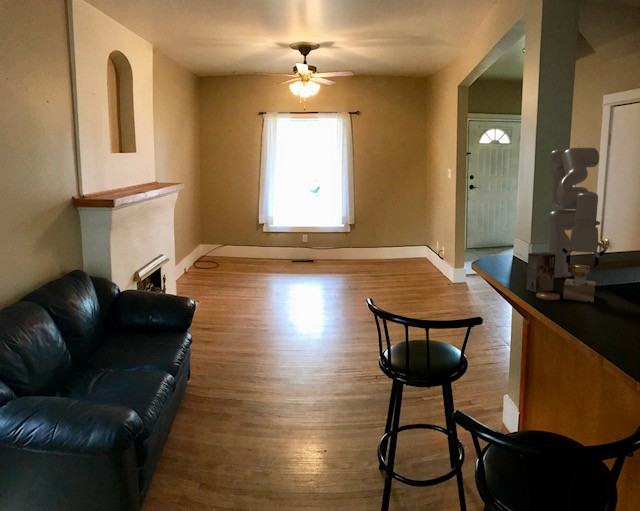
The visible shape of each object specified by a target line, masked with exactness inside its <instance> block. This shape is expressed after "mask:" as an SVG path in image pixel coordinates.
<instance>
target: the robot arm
mask: <svg viewBox="0 0 640 511" xmlns="http://www.w3.org/2000/svg"><path fill="white" fill-rule="evenodd" d="M599 162H600V153H599V151H598V149H596V148H595V147H571V148H559V149H554V150H552V151H551V152H550V153H549V157H548V166H549V169H550V172H551V175H552V176H551V177H552V187H551V188H552V189H551V190H552V191H551V203H552V205H553V207H557V208H561V209H555V210H552V211H550V212H549V214H548V215H547V227H548V239H547V240H548V241H547V251H546V252H547V253H551V254H555V270H554V278H558V279H559V278H560V279H561V278H562V277H564V278H562V279H566V278H570V277H571V276H572V273H571V272H569V270H568V268H569V266H570V265H571V256H572V255H571V253H573V252H577V253H593V254H594V266H593V267H594V268H597V266H599V264H600V262H599V261H600V258H601V256H603V255H605V253H606V252H607V251H608V249H609V247H608V246H607V245H606V244H603V243H601V242H600V241H599V228H598V227H597V226H600V225H601V221H598V220H597V219H598V218H597V215H598V206H599V205H598V203H599V195H598V193H596V192H593V191H589V190H588V189H587V188H586V187H583V186H577V185H578V184H581V183H583V182H584V181H585V180H587V178H588V173H589V172H588V169H587V168H595V167H597V166H598V164H599ZM566 231H570V237H569V235H568V233H566ZM598 247H600V248H601V249H602V250H601V251H600V252H599V251H598ZM565 277H566V278H565Z"/></svg>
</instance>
